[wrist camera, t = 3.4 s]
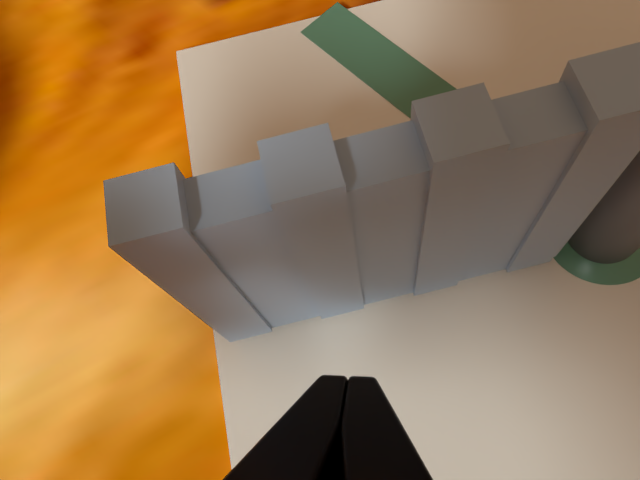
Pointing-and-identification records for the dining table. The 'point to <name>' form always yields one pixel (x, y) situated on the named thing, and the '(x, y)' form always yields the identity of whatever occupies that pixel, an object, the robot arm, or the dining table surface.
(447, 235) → the fence panel
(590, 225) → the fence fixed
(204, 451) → the dining table surface
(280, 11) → the dining table surface
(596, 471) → the card
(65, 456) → the dining table surface
